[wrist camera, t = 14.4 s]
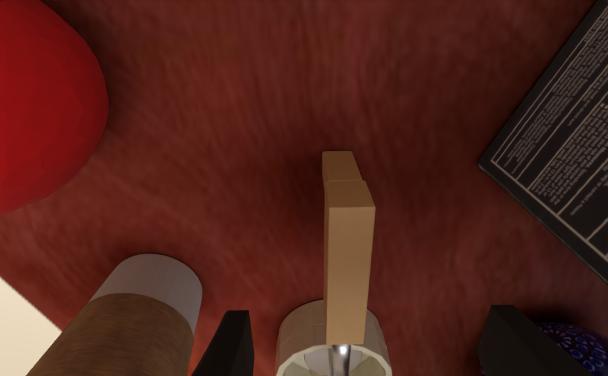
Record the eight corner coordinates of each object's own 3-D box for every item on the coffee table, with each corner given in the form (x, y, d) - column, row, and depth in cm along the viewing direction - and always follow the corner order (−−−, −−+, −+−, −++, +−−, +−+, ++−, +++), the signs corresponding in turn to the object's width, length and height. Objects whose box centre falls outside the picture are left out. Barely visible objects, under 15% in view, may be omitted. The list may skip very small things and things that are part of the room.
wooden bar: (357, 358, 26) (373, 451, 21) (304, 360, 26) (305, 452, 21) (374, 149, 19) (404, 206, 14) (299, 151, 19) (299, 208, 14)
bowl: (396, 308, 25) (410, 354, 22) (361, 373, 29) (369, 421, 25) (291, 290, 24) (290, 335, 21) (269, 360, 28) (265, 407, 24)
